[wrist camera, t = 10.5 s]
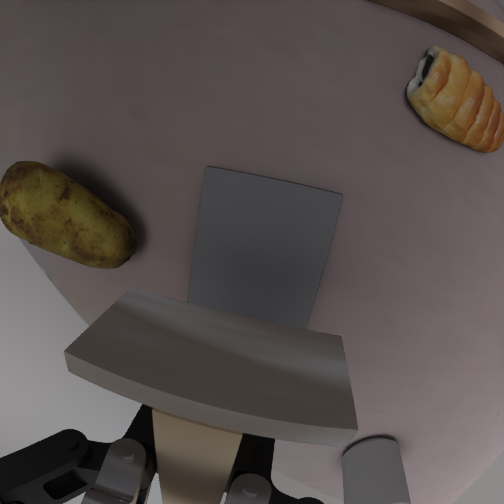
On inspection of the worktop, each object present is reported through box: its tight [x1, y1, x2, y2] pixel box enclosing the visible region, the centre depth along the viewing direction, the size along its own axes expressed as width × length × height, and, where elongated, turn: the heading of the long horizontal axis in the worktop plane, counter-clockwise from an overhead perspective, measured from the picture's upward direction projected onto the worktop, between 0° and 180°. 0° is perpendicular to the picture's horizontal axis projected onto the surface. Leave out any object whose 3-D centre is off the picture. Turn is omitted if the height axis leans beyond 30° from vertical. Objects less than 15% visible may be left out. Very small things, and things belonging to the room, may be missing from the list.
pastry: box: [407, 46, 504, 153], centre depth 16 cm, size 9×7×4 cm
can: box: [342, 437, 411, 504], centre depth 24 cm, size 8×8×12 cm
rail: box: [368, 0, 504, 64], centre depth 13 cm, size 16×2×4 cm, turn 79°
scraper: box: [64, 287, 358, 504], centre depth 10 cm, size 11×8×4 cm
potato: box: [0, 161, 137, 269], centre depth 20 cm, size 8×13×8 cm, turn 39°
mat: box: [188, 166, 343, 329], centre depth 23 cm, size 10×15×1 cm, turn 169°
